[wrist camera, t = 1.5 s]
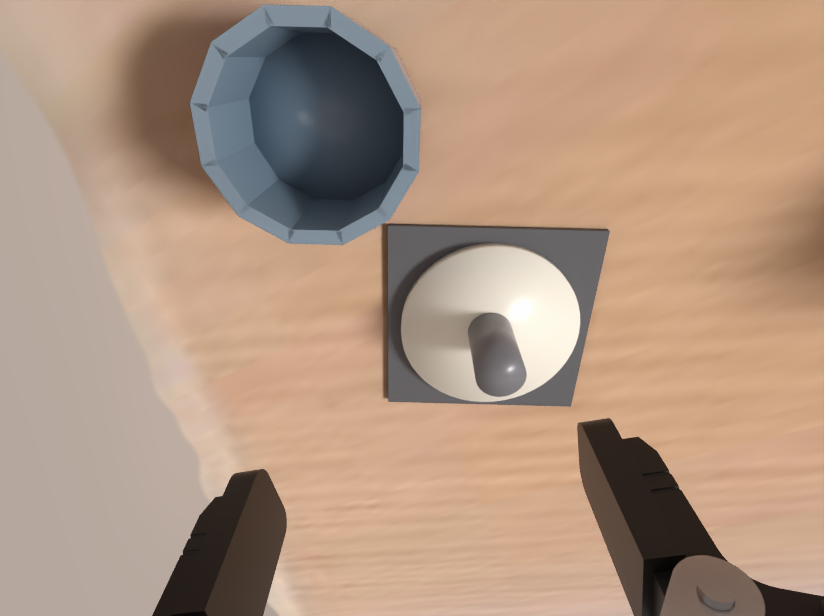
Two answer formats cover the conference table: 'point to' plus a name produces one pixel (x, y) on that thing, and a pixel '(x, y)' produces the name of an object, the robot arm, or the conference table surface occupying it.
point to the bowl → (307, 124)
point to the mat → (428, 243)
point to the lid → (490, 322)
